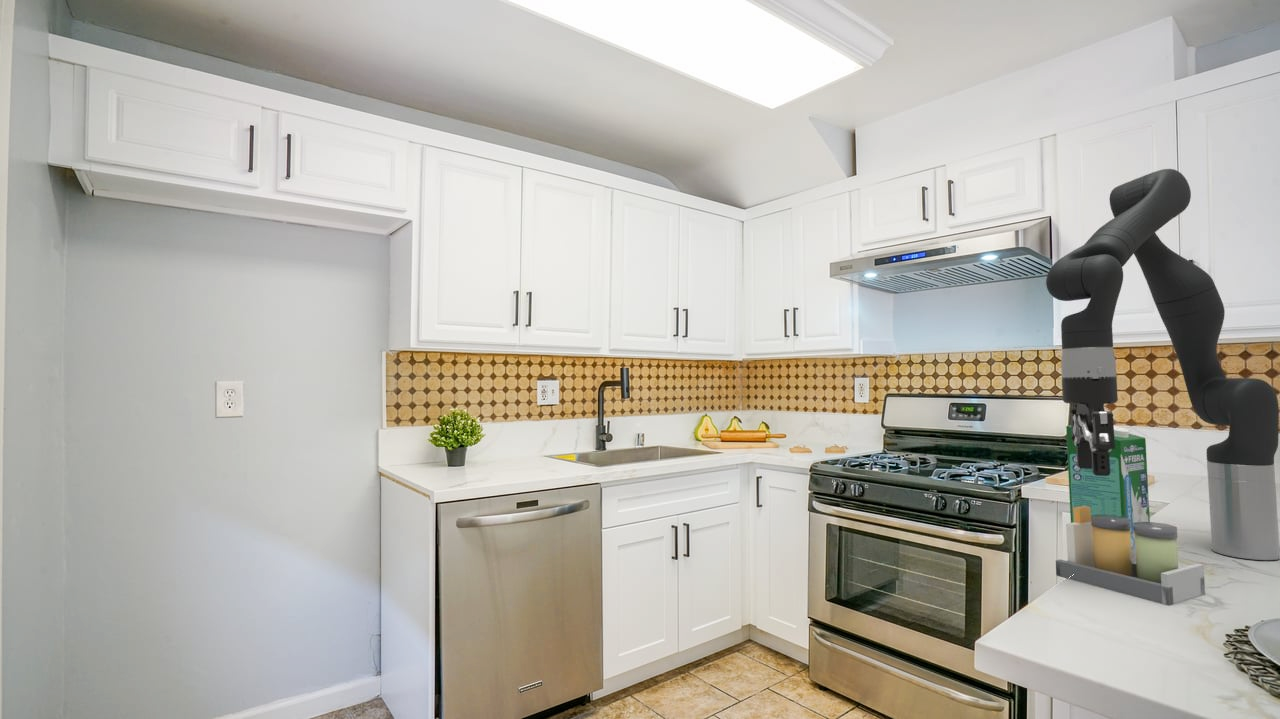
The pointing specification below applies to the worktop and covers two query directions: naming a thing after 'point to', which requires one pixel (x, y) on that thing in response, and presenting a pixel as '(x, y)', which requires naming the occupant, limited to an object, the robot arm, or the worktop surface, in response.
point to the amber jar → (1112, 543)
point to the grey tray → (1140, 582)
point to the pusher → (1080, 537)
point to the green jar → (1155, 550)
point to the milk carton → (1113, 482)
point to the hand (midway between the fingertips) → (1093, 471)
